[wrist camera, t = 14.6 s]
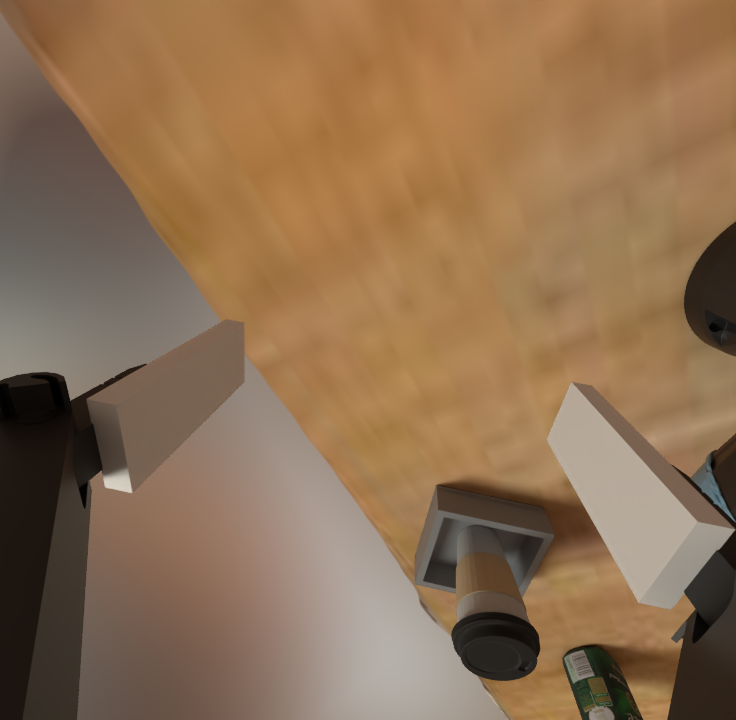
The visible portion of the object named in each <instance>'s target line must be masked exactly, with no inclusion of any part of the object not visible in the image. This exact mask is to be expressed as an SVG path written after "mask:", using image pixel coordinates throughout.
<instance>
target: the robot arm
mask: <svg viewBox="0 0 736 720" xmlns="http://www.w3.org/2000/svg"><path fill="white" fill-rule="evenodd" d="M684 308H685V314H686V318H687V321H688V323H689V325H690V327H691V329H692V330H693V332H694V333H695V334H696V335H697V336H698V337H699V338H700V339H701V340H702V341H704V342H705V343H707V344H708V345H710V346H712V347H714V348H716V349H718V350H721V351H723V352H725V353H727V354H730V355H732V356H735V357H736V223H734V224H733V225H731V226H730V227H729V228H728V229H726V230H725V231H724V232H723V233H722V234H720V235H719V236H718V237H717V238H716V239H715V240H714V241H713V242H712V243H711V244H710V246H709V247H708V248H707V249H706V250H705V252H704V253H703V254H702V256H701V257H700V258H699V260H698V262H697V263H696V265H695V267H694V268H693V271H692V273H691V275H690V277H689V280H688V283H687V286H686V291H685V298H684ZM243 383H244V322H238V321H233V320H227V319H226V320H224V321H223V322H221V323H219V324H217V325H216V326H214V327H212V328H210V329H208V330H207V331H205V332H203V333H201V334H200V335H198V336H196V337H194V338H193V339H191V340H189V341H187V342H186V343H184V344H182V345H180V346H179V347H177V348H175V349H173V350H172V351H170V352H168V353H166V354H165V355H163V356H161V357H159V358H158V359H156V360H154V361H152V362H151V363H149V364H143V365H140V366H137V367H133V368H130V369H128V370H126V371H124V372H122V373H120V374H119V375H117V376H115V378H111V379H109V380H108V381H106V382H104V384H100V385H99V386H97V387H95V388H93V389H91V390H89V391H88V392H86V393H84V394H82V395H80V396H79V397H77V398H75V399H73V400H71V401H70V398H69V394H68V389H67V385H66V381H65V378H64V377H63V376H61V375H59V374H56V373H49V372H40V373H39V372H38V373H29V374H21V375H16V376H13V377H10V378H6V379H3V380H1V381H0V720H77V711H78V695H79V680H80V679H79V678H80V663H81V647H82V633H83V616H84V602H85V601H84V600H85V586H86V570H87V555H88V539H89V523H90V507H91V492H92V490H91V486H90V481H89V480H90V479H91V478H93V477H94V476H95V475H96V474H98V473H99V472H100V471H101V470H102V474H103V479H104V483H105V487H106V488H111V489H116V490H120V491H125V492H129V493H133V492H134V491H135V490H136V489H137V488H138V487H139V486H140V485H141V484H142V483H143V482H144V481H145V480H146V479H147V478H148V477H149V476H150V475H151V474H152V473H153V472H154V471H155V470H156V469H157V468H158V467H159V466H160V465H161V464H162V463H163V462H164V461H165V460H166V459H167V458H168V457H169V456H170V455H171V454H172V453H173V452H174V451H175V450H176V449H177V448H178V447H179V446H180V445H181V444H182V443H183V442H184V441H185V440H186V439H187V438H188V437H189V436H190V435H191V434H192V433H193V432H194V431H195V430H196V429H197V428H198V427H199V426H201V424H203V422H205V421H206V420H207V419H208V418H209V417H210V415H211V414H212V413H214V412H215V411H216V410H217V409H218V408H219V407H220V405H222V404H223V403H224V402H225V401H226V400H227V399H228V397H230V396H231V395H232V394H233V393H234V392H235V391H236V389H238V388H239V386H241V385H242V384H243ZM547 442H548V443H549V445H550V447H551V449H552V450H553V452H554V454H555V456H556V457H557V459H558V461H559V463H560V465H561V466H562V468H563V470H564V472H565V473H566V475H567V477H568V479H569V480H570V482H571V484H572V486H573V488H574V489H575V491H576V493H577V495H578V496H579V498H580V500H581V502H582V503H583V505H584V507H585V509H586V511H587V512H588V514H589V516H590V518H591V519H592V521H593V523H594V525H595V526H596V528H597V530H598V532H599V534H600V535H601V537H602V539H603V541H604V542H605V544H606V546H607V548H608V549H609V551H610V553H611V555H612V557H613V558H614V560H615V562H616V564H617V565H618V567H619V569H620V571H621V572H622V574H623V576H624V578H625V580H626V581H627V583H628V585H629V587H630V588H631V590H632V592H633V594H634V595H635V597H636V599H637V601H638V603H642V604H647V605H651V606H656V607H661V608H665V609H670V610H671V609H672V608H673V607H674V606H675V604H676V603H677V602H678V601H679V599H680V598H681V597H682V596H683V594H684V593H685V594H686V596H687V597H688V599H689V600H690V601H691V603H692V604H693V606H694V607H695V611H694V612H693V613H692V614H691V615H690V617H689V618H688V619H687V620H686V621H685V622H684V624H683V625H682V626H681V627H680V628H679V629H678V631H677V632H676V633H675V634H674V636H673V637H672V638H671V639H672V640H674V641H675V642H676V643H677V642H678V641H679V640H680V639H681V638H684V639H683V644H682V649H681V654H680V659H679V664H678V669H677V674H676V679H675V684H674V689H673V694H672V699H671V704H670V709H669V714H668V719H667V720H736V434H735V435H734V436H732V437H731V438H730V439H729V440H728V441H727V442H726V443H725V444H723V445H722V446H721V447H720V448H719V449H718V450H714V451H712V452H711V453H710V454H709V455H708V456H707V458H706V461H705V463H704V464H703V465H702V466H701V467H700V468H699V469H698V470H697V471H696V472H695V474H694V475H693V476H692V477H691V478H690V477H689V476H687V475H686V474H684V473H683V472H681V471H680V470H679V469H677V468H676V467H674V466H673V465H671V464H670V463H669V462H668V461H667V460H666V459H665V458H664V457H663V456H662V455H661V454H660V453H659V452H658V451H657V450H656V449H655V448H654V447H653V446H652V445H651V444H650V443H649V442H648V441H647V440H646V439H645V438H644V437H643V436H642V435H641V434H640V433H639V432H638V431H637V430H636V429H635V428H634V427H633V426H632V425H631V424H630V423H629V422H628V421H627V420H626V419H625V418H624V417H623V416H622V415H621V414H620V413H619V412H618V411H617V410H616V409H615V408H614V407H613V406H612V405H611V404H610V403H609V402H608V401H607V400H606V399H605V398H604V397H603V396H602V395H601V394H600V393H599V392H598V391H597V390H596V389H595V388H594V387H593V386H591V385H586V384H580V383H575V382H571V384H570V387H569V389H568V391H567V394H566V396H565V398H564V401H563V403H562V405H561V408H560V410H559V412H558V415H557V417H556V419H555V422H554V424H553V426H552V429H551V431H550V433H549V436H548V438H547Z"/></svg>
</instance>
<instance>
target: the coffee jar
mask: <svg viewBox="0 0 736 720" xmlns="http://www.w3.org/2000/svg"><path fill="white" fill-rule="evenodd" d="M563 665H564V668H565V671H566V674H567V677H568V680H569V683H570V686H571V688H572V691H573V694H574V697H575V700H576V703H577V706H578V708H579V711H580V714H581V717H582V720H643V718H642V716H641V714H640V712H639V710H638V707H637V705H636V703H635V701H634V698H633V696H632V694H631V691H630V689H629V687H628V685H627V682H626V680H625V678H624V676H623V674H622V671H621V669H620V668H619V666H618V665H617V663H616V662H615V661H614V660H613V659H612V657H611V656H609V655H608V654H607V653H606V652H605V651H604V650H602V649H600V648H598V647H579V648H576V649H573V650H571V651H570V652H569V653H567V654H566V655H565V656H564V657H563Z"/></svg>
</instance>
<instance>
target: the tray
mask: <svg viewBox="0 0 736 720" xmlns="http://www.w3.org/2000/svg"><path fill="white" fill-rule="evenodd" d="M469 526H483V527H487V528H489V529H491V530H493V531H494V532H495V533H496V534H497V536H498V539H499V541H500V544H501V547H502V549H503V552H504V555H505V557H506V560H507V562H508V564H509V565H510V567H511V570H512V573H513V575H514V578H515V581H516V583H517V586H518V589H519V591H520V594H521V597H523V595H524V594H525V592H526V590H527V588H528V586H529V584H530V582H531V580H532V578H533V576H534V574H535V573H536V571H537V569H538V567H539V565H540V563H541V561H542V559H543V557H544V555H545V553H546V552H547V550H548V548H549V546H550V544H551V542H552V540H553V538H554V536H555V533H554V531H553V529H552V526H551V524H550V522H549V519H548V517H547V515H546V512H545V510H544V508H543V507H538V506H533V505H529V504H524V503H519V502H514V501H510V500H505V499H500V498H495V497H491V496H486V495H481V494H477V493H472V492H467V491H462V490H458V489H453V488H448V487H443V486H439V485H436V488H435V491H434V495H433V498H432V501H431V505H430V508H429V511H428V515H427V518H426V521H425V525H424V528H423V531H422V535H421V538H420V541H419V545H418V548H417V551H416V554H415V584H416V585H421V586H425V587H430V588H434V589H438V590H443V591H447V592H451V593H456V567H457V538H458V535H459V533H460V532H461V531H462V530H463V529H464V528H466V527H469Z"/></svg>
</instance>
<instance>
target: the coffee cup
mask: <svg viewBox="0 0 736 720" xmlns="http://www.w3.org/2000/svg"><path fill="white" fill-rule="evenodd" d="M456 615H457V624H456V625H455V626H454V628H453V630H452V635H451V636H452V641H453V645H454V649H455V651H456V652H457V654H458V655H459V656H460V657H461V660H462V663H463V664H464V666H465V667H466V668H467V669H468V670H469V671H471V672H472V673H474V674H476V675H478V676H480V677H483V678H486V679H491V680H498V681H509V680H515V679H519V678H522V677H525V676H527V675H528V674H530V673H531V672H532V671H533V670H534V669H535V667H536V665H537V657H538V655H539V652H540V643H539V635H538V633H537V631H536V630H535V628H534V627H533V626H532V625H531V624H530V622H529V619H528V617H527V614H526V608H525V605H524V602H523V599H522V597H521V594H520V591H519V589H518V586H517V583H516V581H515V578H514V575H513V573H512V570H511V567H510V565H509V564H508V562H507V560H506V557H505V555H504V552H503V549H502V547H501V544H500V541H499V539H498V536H497V534H496V533H495V532H494V531H493V530H491V529H489V528H487V527H483V526H469V527H466V528H464V529H463V530H462V531H461V532H460V533H459V535H458V538H457V567H456Z"/></svg>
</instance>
